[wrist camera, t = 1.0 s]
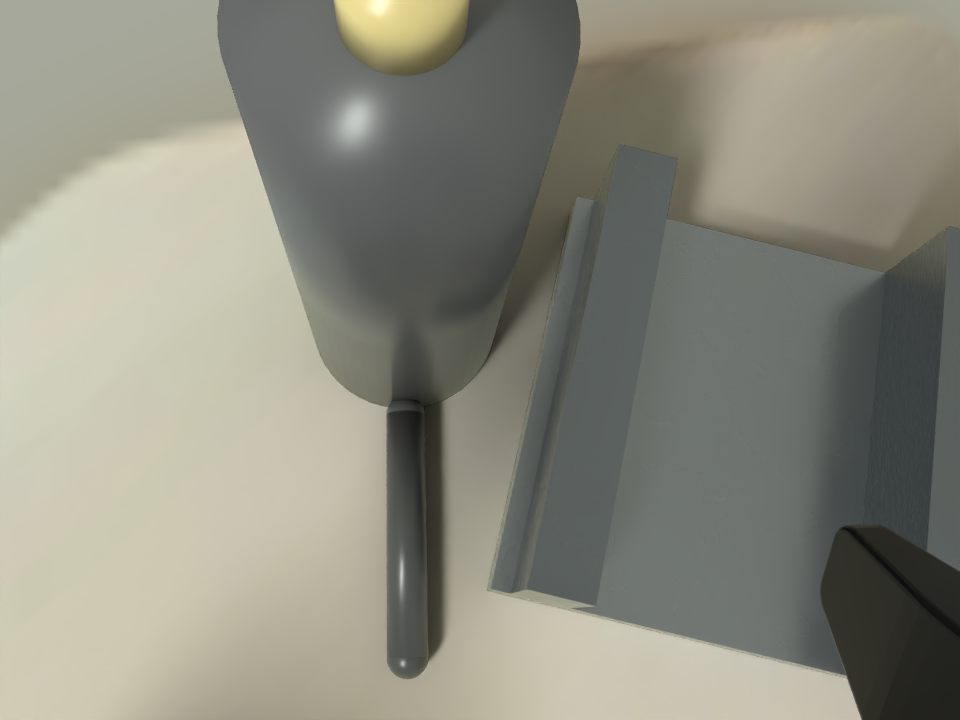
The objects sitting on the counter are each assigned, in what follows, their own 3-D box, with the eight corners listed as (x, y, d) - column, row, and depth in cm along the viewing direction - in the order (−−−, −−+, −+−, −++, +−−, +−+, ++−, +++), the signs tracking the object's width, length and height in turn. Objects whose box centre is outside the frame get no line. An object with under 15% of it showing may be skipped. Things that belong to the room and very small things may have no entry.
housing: (904, 692, 22) (1009, 706, 18) (487, 590, 22) (503, 583, 18) (933, 302, 25) (1026, 245, 21) (570, 212, 25) (599, 139, 21)
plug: (508, 673, 21) (668, 756, 8) (305, 681, 21) (133, 783, 8) (491, 238, 25) (585, -190, 12) (315, 237, 24) (208, -208, 11)
